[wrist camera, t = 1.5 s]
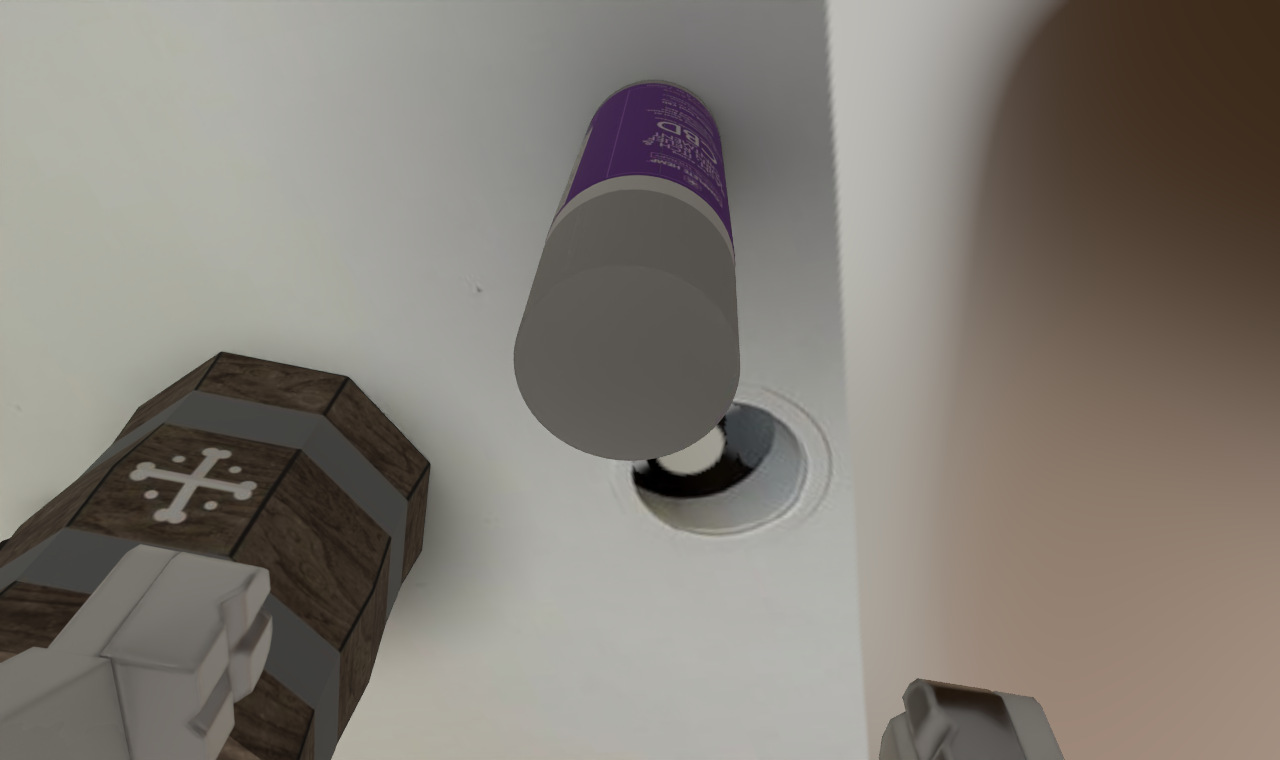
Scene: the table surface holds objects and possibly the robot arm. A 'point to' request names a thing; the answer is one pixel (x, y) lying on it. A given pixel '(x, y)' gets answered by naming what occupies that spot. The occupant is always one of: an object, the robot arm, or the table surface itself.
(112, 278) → the table surface
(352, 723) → the table surface
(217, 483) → the mug
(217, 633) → the robot arm
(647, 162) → the container
